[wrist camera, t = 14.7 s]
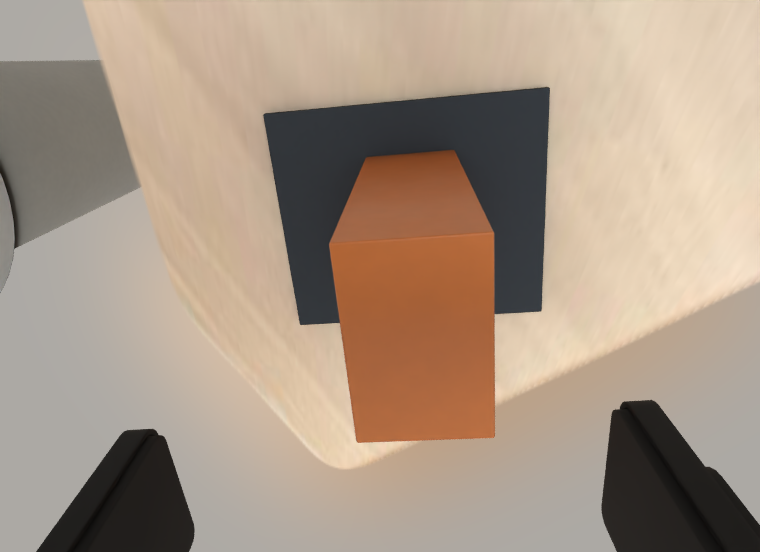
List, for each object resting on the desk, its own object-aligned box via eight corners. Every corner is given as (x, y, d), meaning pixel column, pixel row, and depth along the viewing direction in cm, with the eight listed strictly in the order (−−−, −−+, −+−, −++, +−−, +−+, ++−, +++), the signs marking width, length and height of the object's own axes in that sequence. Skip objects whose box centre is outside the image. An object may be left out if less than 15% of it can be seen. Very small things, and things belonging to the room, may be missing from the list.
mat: (301, 322, 30) (299, 325, 30) (264, 113, 26) (262, 114, 25) (540, 308, 29) (541, 311, 29) (547, 87, 24) (550, 87, 24)
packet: (378, 282, 29) (356, 443, 17) (365, 157, 26) (328, 243, 14) (458, 276, 28) (495, 438, 16) (454, 149, 25) (494, 231, 13)
